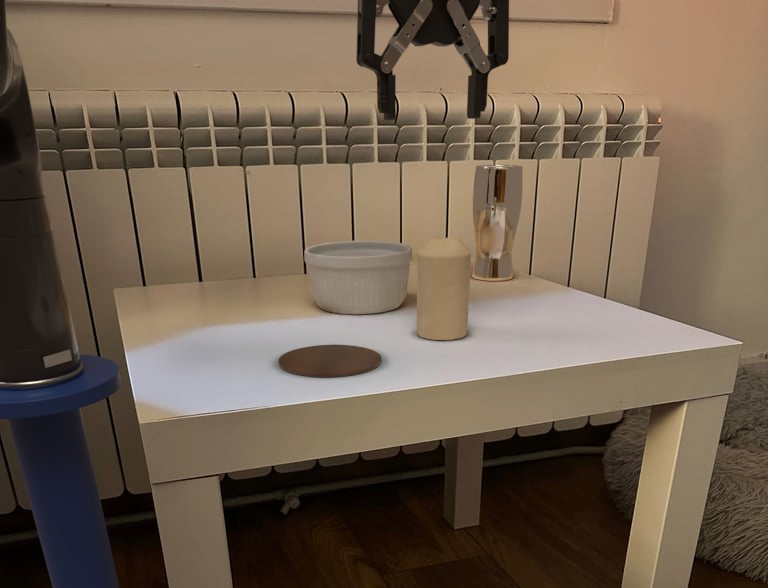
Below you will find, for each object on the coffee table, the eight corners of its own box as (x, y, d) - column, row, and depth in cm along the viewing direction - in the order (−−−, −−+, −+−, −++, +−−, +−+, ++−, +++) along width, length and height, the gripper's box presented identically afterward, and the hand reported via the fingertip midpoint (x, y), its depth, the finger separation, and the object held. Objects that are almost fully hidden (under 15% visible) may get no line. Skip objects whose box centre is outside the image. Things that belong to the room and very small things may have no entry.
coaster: (280, 380, 66) (280, 376, 65) (276, 350, 74) (276, 347, 74) (389, 374, 67) (389, 370, 67) (373, 345, 76) (373, 342, 76)
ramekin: (310, 319, 86) (307, 258, 82) (304, 296, 97) (300, 241, 94) (420, 314, 87) (421, 254, 84) (401, 292, 99) (401, 238, 96)
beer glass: (459, 277, 109) (463, 166, 101) (489, 271, 113) (495, 164, 106) (495, 283, 104) (503, 168, 97) (525, 277, 108) (534, 165, 101)
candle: (431, 343, 76) (433, 242, 71) (408, 331, 81) (408, 235, 76) (476, 337, 78) (481, 238, 73) (451, 325, 83) (455, 232, 78)
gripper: (497, -79, 68) (487, 119, 76) (347, -85, 65) (353, 120, 73) (528, -100, 61) (514, 118, 69) (363, -108, 59) (368, 120, 66)
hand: (431, 119), depth 71 cm, fingers open, 8 cm apart
